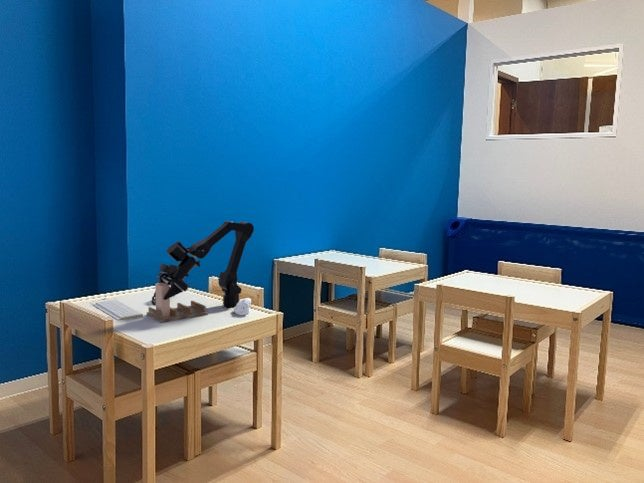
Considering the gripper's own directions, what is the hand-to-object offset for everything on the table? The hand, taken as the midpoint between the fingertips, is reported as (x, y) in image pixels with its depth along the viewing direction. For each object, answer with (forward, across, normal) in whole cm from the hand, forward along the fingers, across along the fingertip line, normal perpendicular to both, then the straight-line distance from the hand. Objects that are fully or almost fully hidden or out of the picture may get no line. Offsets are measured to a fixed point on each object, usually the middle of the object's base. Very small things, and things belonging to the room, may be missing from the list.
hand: (159, 297), depth 225 cm
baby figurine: (-16, +13, +29) cm, 36 cm away
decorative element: (-4, -28, +17) cm, 33 cm away
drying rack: (+1, 0, +12) cm, 12 cm away
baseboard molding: (+14, -22, -1) cm, 26 cm away
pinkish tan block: (+4, 0, +6) cm, 8 cm away
